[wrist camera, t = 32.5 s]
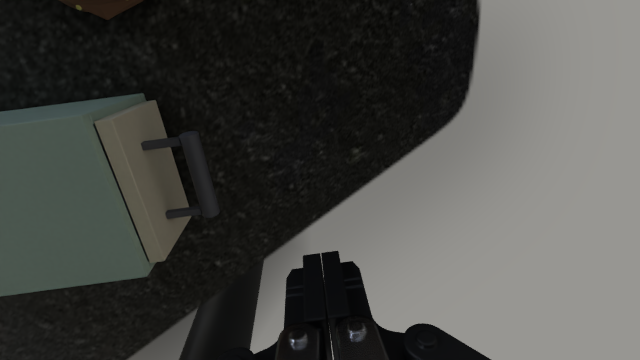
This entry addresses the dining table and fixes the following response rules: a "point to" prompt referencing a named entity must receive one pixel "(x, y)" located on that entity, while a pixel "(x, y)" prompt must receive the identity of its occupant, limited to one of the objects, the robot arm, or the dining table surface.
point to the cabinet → (63, 201)
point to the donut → (102, 6)
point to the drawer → (155, 175)
